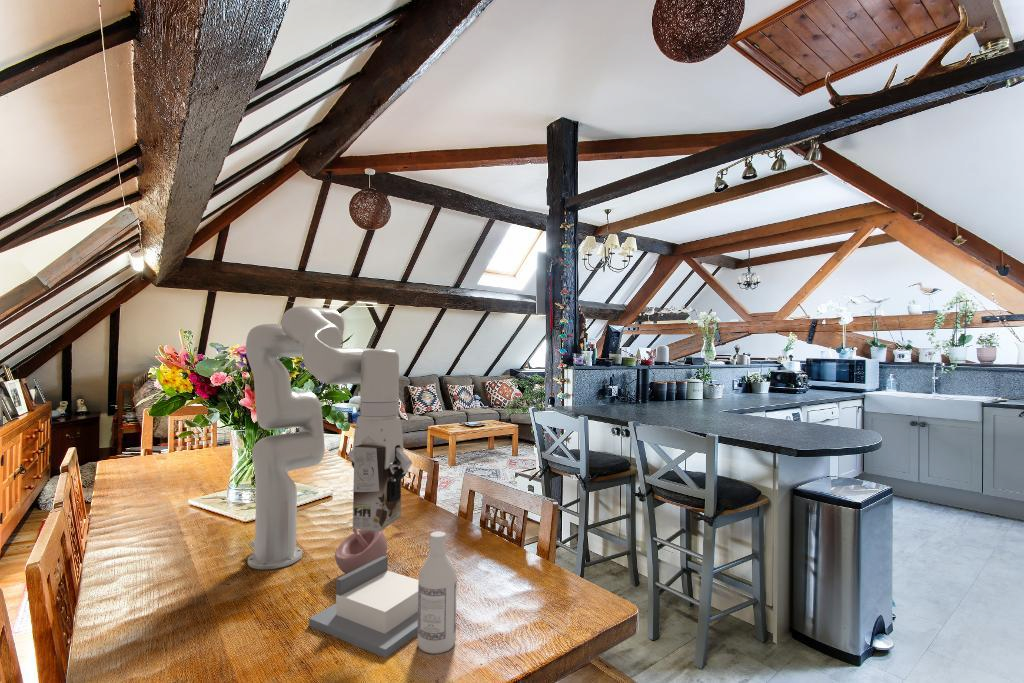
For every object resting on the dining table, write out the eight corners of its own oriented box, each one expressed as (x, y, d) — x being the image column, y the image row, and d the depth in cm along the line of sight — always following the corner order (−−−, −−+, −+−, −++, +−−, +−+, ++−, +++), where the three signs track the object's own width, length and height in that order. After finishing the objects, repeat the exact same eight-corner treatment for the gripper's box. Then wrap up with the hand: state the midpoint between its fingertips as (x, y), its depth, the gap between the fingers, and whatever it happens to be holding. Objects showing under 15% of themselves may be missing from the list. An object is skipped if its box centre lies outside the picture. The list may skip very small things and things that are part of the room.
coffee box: (382, 532, 95) (383, 447, 96) (351, 529, 97) (352, 445, 97) (402, 516, 104) (403, 439, 105) (374, 514, 106) (375, 438, 106)
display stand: (308, 626, 97) (309, 581, 97) (382, 584, 114) (383, 547, 114) (385, 658, 87) (386, 609, 87) (453, 607, 104) (454, 566, 104)
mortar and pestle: (327, 572, 120) (328, 524, 120) (375, 559, 127) (375, 514, 128) (344, 591, 111) (345, 539, 111) (395, 577, 118) (395, 528, 118)
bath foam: (438, 628, 96) (439, 524, 97) (463, 642, 92) (464, 533, 92) (409, 644, 91) (411, 534, 91) (434, 660, 86) (436, 544, 87)
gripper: (335, 409, 102) (334, 495, 102) (398, 415, 93) (397, 509, 93) (363, 405, 109) (362, 486, 108) (424, 411, 100) (424, 499, 100)
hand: (378, 496), depth 101 cm, fingers closed on coffee box, 7 cm apart
